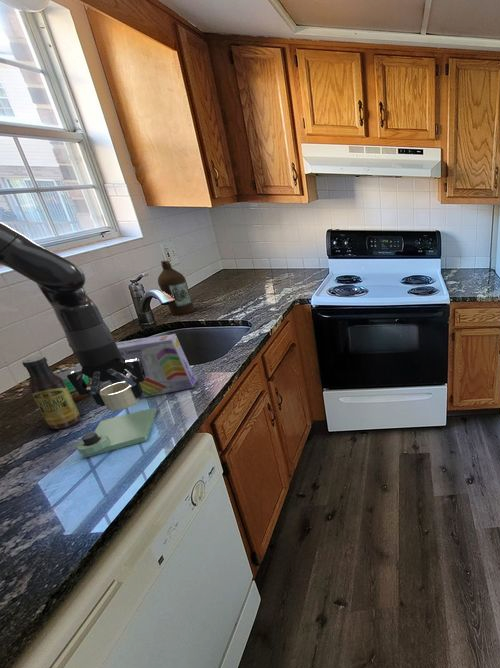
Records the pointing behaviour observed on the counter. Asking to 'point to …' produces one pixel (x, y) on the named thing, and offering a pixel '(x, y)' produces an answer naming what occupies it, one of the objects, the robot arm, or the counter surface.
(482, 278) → the counter surface
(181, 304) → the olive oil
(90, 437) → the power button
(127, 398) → the bowl
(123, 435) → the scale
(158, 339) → the cake pan box
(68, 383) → the food container
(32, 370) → the sauce bottle
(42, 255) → the robot arm
